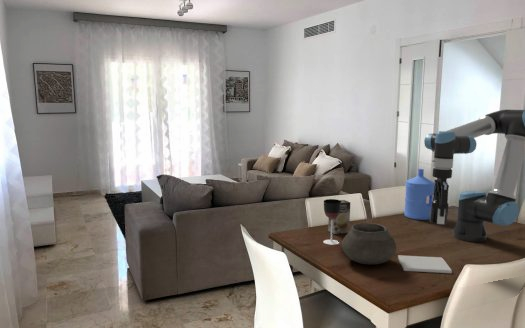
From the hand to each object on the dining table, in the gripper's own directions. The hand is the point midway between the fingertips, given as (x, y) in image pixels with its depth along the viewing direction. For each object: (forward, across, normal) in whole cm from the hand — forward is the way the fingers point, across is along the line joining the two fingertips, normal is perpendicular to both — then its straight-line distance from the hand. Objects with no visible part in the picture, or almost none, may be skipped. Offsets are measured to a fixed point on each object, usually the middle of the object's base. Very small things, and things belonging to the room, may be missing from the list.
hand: (438, 221), depth 181 cm
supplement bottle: (+1, 0, 0) cm, 1 cm away
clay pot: (+17, +10, -29) cm, 35 cm away
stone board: (+16, +11, -7) cm, 21 cm away
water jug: (+15, -67, +6) cm, 69 cm away
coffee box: (+16, -30, -41) cm, 53 cm away
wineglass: (+17, -13, -44) cm, 49 cm away
